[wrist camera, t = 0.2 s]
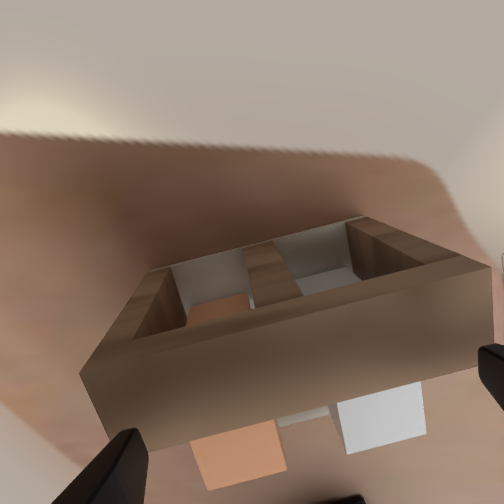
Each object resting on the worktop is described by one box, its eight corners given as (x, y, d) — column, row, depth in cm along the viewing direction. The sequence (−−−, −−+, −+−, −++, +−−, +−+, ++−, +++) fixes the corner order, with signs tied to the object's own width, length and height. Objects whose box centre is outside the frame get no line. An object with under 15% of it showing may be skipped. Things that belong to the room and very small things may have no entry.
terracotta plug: (266, 365, 24) (287, 470, 16) (213, 379, 24) (207, 491, 16) (247, 292, 23) (259, 367, 14) (190, 306, 23) (170, 390, 14)
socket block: (389, 393, 27) (502, 553, 16) (210, 440, 27) (199, 634, 16) (363, 215, 23) (491, 266, 12) (149, 270, 22) (79, 373, 12)
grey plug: (359, 341, 24) (426, 433, 16) (306, 355, 24) (347, 454, 16) (346, 266, 23) (414, 327, 14) (289, 281, 23) (325, 350, 14)
